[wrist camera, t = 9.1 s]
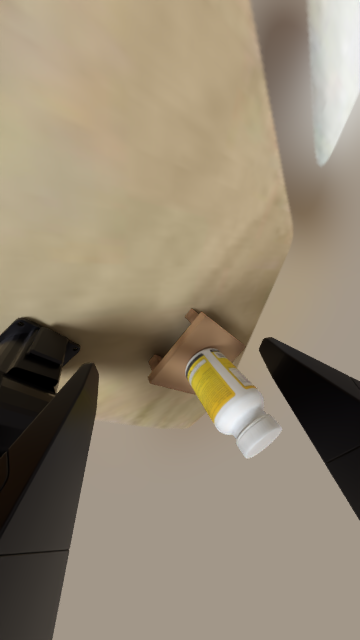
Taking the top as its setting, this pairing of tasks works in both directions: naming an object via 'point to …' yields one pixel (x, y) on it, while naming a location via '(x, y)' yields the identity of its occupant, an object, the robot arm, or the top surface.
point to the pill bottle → (231, 401)
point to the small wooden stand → (192, 351)
